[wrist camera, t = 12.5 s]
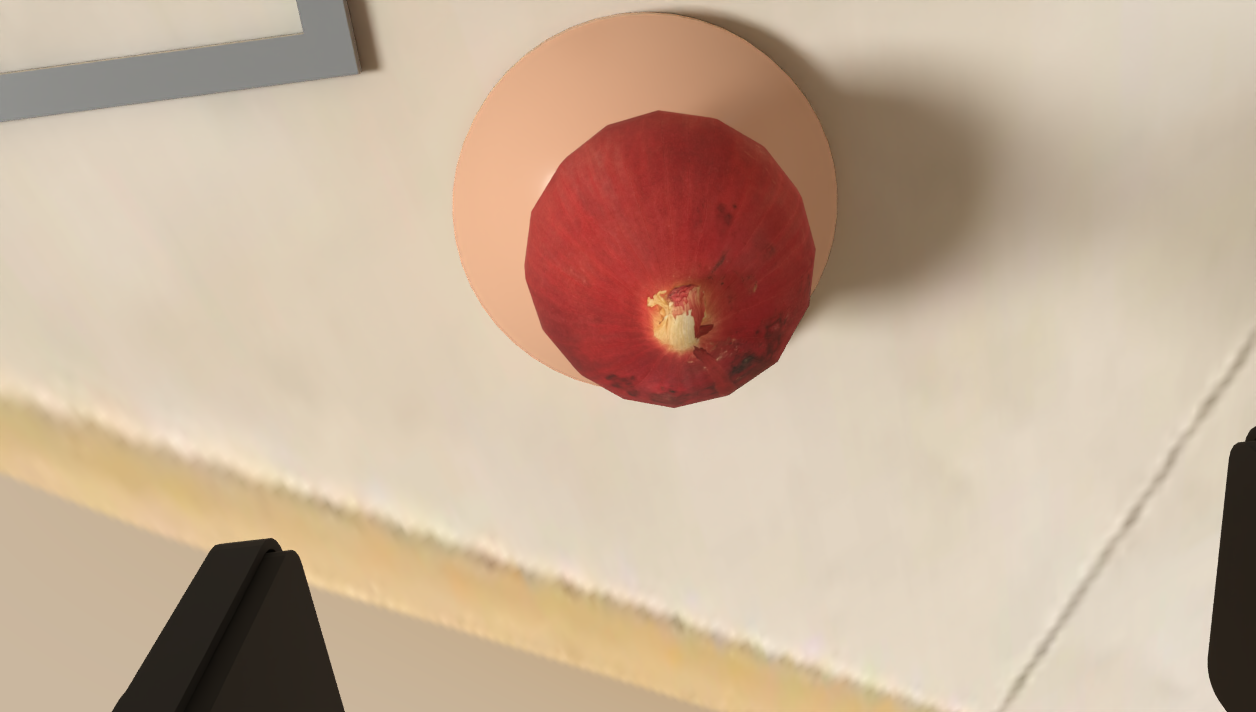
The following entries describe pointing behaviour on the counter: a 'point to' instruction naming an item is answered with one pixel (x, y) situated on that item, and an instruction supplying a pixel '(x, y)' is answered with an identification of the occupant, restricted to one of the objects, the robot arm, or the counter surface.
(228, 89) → the frame
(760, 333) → the onion
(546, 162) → the disc
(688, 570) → the counter surface
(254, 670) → the robot arm
